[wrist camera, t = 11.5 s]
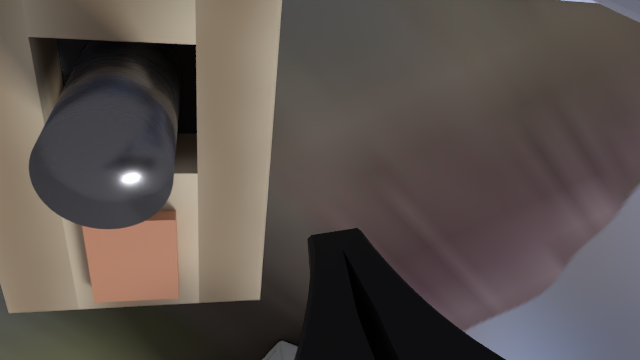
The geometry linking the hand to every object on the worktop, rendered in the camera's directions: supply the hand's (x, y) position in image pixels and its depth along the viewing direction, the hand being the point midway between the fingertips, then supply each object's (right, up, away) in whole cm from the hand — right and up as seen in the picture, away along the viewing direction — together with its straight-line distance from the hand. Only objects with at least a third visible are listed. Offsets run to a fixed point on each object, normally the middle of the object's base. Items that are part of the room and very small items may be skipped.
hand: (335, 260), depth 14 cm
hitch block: (-8, +4, +7) cm, 11 cm away
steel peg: (-7, +6, +6) cm, 11 cm away
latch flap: (-8, -1, +7) cm, 10 cm away
